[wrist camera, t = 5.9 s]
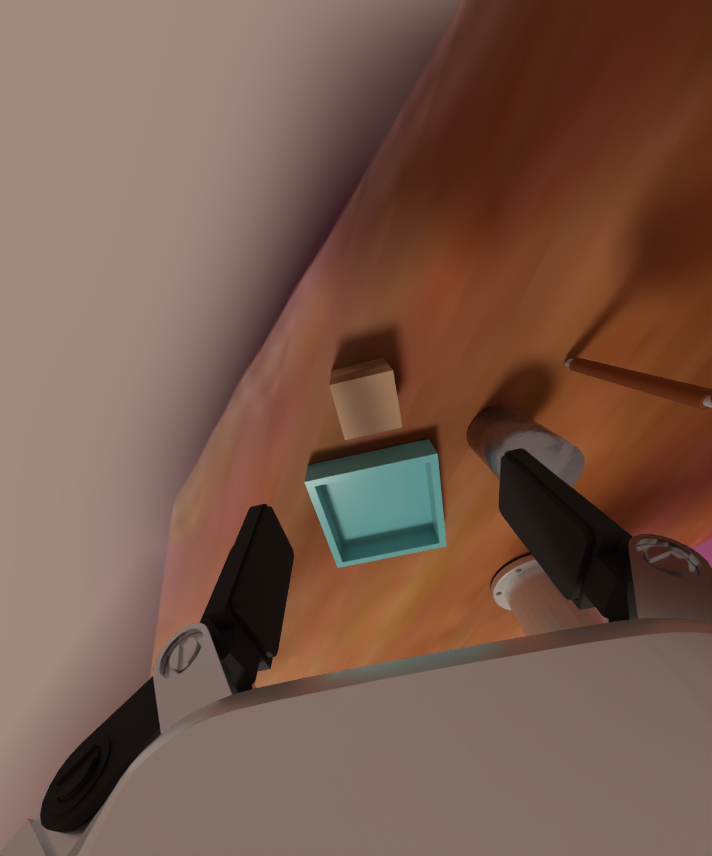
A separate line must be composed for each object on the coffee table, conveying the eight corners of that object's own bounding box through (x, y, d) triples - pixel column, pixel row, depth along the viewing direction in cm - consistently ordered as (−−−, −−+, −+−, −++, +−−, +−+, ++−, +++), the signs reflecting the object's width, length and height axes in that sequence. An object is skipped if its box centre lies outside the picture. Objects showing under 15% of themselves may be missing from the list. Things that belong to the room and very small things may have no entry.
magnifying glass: (532, 343, 24) (1066, 462, 6) (547, 327, 24) (1178, 408, 6) (584, 392, 27) (1076, 575, 9) (599, 378, 26) (1155, 545, 8)
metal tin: (523, 399, 27) (590, 434, 20) (520, 447, 30) (577, 495, 22) (466, 412, 27) (511, 451, 20) (467, 459, 30) (508, 509, 23)
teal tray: (428, 438, 28) (437, 453, 26) (438, 527, 34) (446, 546, 32) (307, 465, 29) (304, 482, 26) (337, 547, 35) (337, 567, 32)
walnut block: (383, 357, 24) (393, 370, 20) (391, 405, 27) (402, 427, 22) (331, 369, 25) (329, 385, 20) (344, 416, 27) (344, 440, 22)
